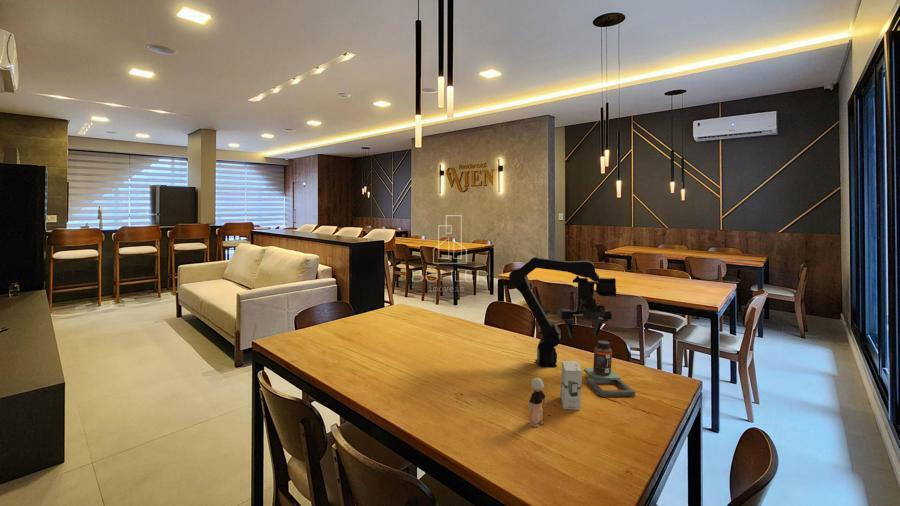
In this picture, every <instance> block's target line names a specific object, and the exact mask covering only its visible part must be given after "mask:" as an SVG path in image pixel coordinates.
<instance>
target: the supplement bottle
mask: <svg viewBox="0 0 900 506" xmlns="http://www.w3.org/2000/svg"><path fill="white" fill-rule="evenodd" d="M610 345H611V344H610V342H609V341H607V340H598V341H597V345H596V346H595V347H594V350H593V367H592V368H593V371H594V372H595V373H596V374H599V375H609V374H611V371H612V360H613V350H612V348H611V347H610Z"/></svg>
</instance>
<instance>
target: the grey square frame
mask: <svg viewBox="0 0 900 506" xmlns="http://www.w3.org/2000/svg"><path fill="white" fill-rule="evenodd" d="M586 384H588V386H590V388H591V389H593V391H594V392H595V393H596V394H597V395H599V396H600V397H601V398H602V397H603V398H607V397H608V398H612V397H618V398H619V397H620V398H621V397H636V391H635V390H634V389H632V388H631V387H630V386H629V385H627V384H626V383H625V382H624V381H623V380H621V378H620V379H619V378H593V377H590V378H589V377H588V378H586ZM599 385H617V386H618V387H620V389H621V390H620V389H617V390H616V389H613V390H611V389H609V390H604V389H602V388H601V387H600V386H599Z"/></svg>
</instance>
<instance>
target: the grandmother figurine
mask: <svg viewBox="0 0 900 506" xmlns="http://www.w3.org/2000/svg"><path fill="white" fill-rule="evenodd" d="M530 382H531V383H530V384H531V388H532V391H533V392H532V393H531V396H530V398H529V401H528V406H527V409H528V410H529V414H528V421H529V426H530V427H534V428H540V425H543V424H544V417H543V415H544V411H543V410H544V409H543V405H542V403H545V404H546V403H547V398H546V395H545V393H544V391H543V390H542V389H544V387H545V385H544V381H543V380H542V379H541V378H539V377H534V378H533V379H531V381H530Z"/></svg>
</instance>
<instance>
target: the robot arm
mask: <svg viewBox="0 0 900 506" xmlns="http://www.w3.org/2000/svg"><path fill="white" fill-rule="evenodd" d="M595 267H596V266H595V264H594V263H593V262H592V261H591V260H587V259H586V260H574V261H572V260H571V261H566V260H560V259H558V260H557V259H551V258H545V257H544V258H543V257H538V256H533V257H532V258H531V259H530V260H528V262H526V263H525V264H524V265H522V266H521V267H517V268H515V269H513V270H512V271H511V272H510V273H509V276H508V279H509V282H510V283H511V284H512V286H514V288H515V289H516V290H517V291H518V292H519V293H520V294H521V295H522V297H523V299H524V302H525V303H526V305H527V307H528V309H529V310H530V311H531V314H532V315H533V317H534V319H535V321H536V323H537V324H538V326H539V329H540V332H541V338H540V339H539V341H538V345H537V347H536V348H537V349H536V351H537V352H536V359H535V362H536V364H537V365H538V366H539V367H540V368H542V367H546V368H548V367H550V368H551V367H555V368H556V367H558V365H557V361H558V353H557V351H556V350H557V349H556V347H557V346H558V345H559V344H560V341H561V338H562V337H561V331H562V330H561V329H560V328H559V326H558V324H557V322H556V321H554V322H553V323H552V321H550V320H549V318H548V316H547V315H546V312H545V311H544V309H543V307H542V305H541V304H540V301H539V300H538V299H537V297H536V295H535V293H534V291H533V290H532V287H531V285H530V279H529V278H528V275H529V274H530V273H531V272H533V271H534V270H535V269H542V270H543V269H544V270H548V271H549V270H550V271H558V272H565V273H570V274H573V275H575V276H576V277H575V278H573V279H572V283H574V284H575V283H577V288H576V289H577V292H576V293H577V294H576V295H575V300H576V306H575V309H574V310H575V311H574V310H573V311H572V309H569V308H558V309H557V311H556V316H557V317H558V318H559V319H561V320H563V322H564V323H565V326H566V329H567V331H568V335H569V337H570V338H573V335H574V334H573V332H574V331H573V323H574V322H575V321H574V319H573V318H574V317H584V318H585V320H587V321H590V320H593V324H594V325H593V335H594V337H595V338H597V337H598V335H599V334H600V333H599V332H600V331H601V328H602V327H603V325H604V324H605V323H607V322H609V320H612V319H613V313H612V311H611V310H608V309H606V307H605V306H604V305H603V304H602V305H601V304H599V305H596V299H594V295H595V294H597V295H598V297H605V298H606V297H607V298H616V297H617V283H616V281H617V279H616V278H615V277H610V278H608V277H607V278H606V277H600V275H599V274H598V273H597V272H596V268H595ZM589 279H590V280H589ZM594 293H595V294H594Z"/></svg>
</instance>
